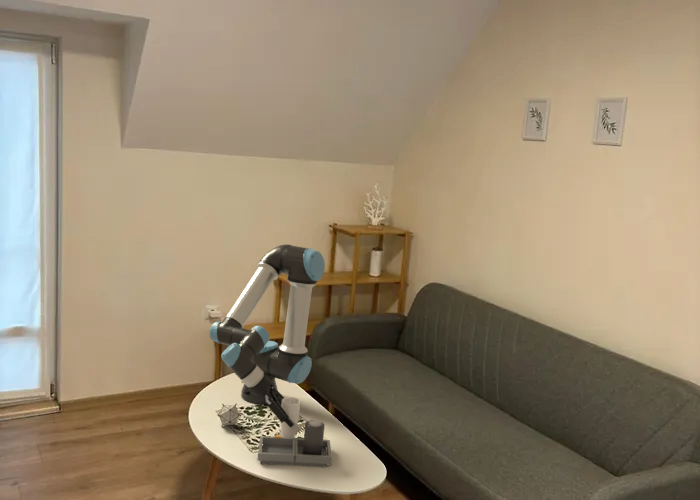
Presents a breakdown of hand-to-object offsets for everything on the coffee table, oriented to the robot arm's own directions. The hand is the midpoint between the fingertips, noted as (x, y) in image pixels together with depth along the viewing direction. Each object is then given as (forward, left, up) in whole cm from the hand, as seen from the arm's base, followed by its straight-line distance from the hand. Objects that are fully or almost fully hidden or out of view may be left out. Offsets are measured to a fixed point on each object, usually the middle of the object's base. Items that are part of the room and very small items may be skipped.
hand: (298, 425), depth 234 cm
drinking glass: (0, -3, -6) cm, 7 cm away
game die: (-9, -25, -6) cm, 28 cm away
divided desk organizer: (+11, -1, -6) cm, 13 cm away
